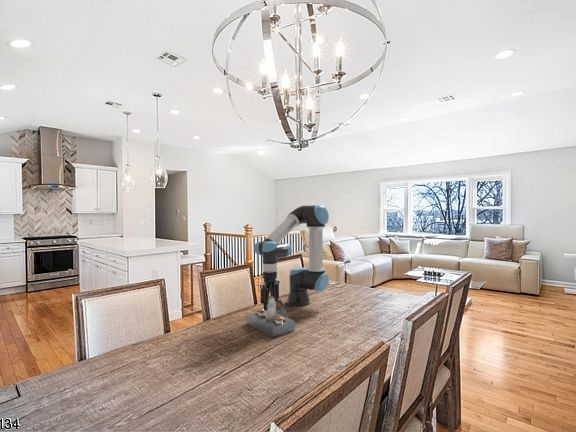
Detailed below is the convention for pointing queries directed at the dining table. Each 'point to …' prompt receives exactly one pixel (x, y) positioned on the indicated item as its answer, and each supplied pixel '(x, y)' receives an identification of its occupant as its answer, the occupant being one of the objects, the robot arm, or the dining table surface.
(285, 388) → the dining table surface
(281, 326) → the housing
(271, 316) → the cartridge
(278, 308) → the beverage carton
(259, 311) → the plunger
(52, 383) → the dining table surface
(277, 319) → the plunger
